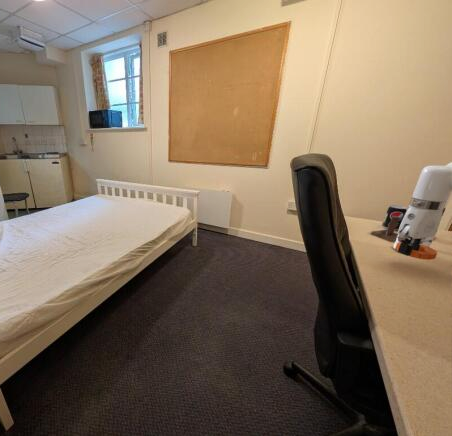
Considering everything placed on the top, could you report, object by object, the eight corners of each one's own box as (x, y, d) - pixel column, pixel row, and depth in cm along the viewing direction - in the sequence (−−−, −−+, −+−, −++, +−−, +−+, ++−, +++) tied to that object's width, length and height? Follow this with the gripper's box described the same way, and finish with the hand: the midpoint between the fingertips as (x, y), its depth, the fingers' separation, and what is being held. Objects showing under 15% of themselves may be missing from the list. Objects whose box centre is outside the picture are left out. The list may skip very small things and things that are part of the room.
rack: (406, 240, 103) (415, 219, 99) (391, 241, 101) (400, 220, 98) (384, 232, 111) (392, 213, 108) (370, 234, 110) (377, 214, 106)
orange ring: (442, 257, 76) (444, 252, 75) (421, 261, 74) (423, 256, 73) (408, 245, 84) (409, 240, 84) (388, 248, 83) (390, 243, 82)
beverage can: (379, 227, 117) (388, 206, 113) (382, 225, 121) (390, 204, 116) (397, 231, 112) (406, 209, 108) (399, 228, 116) (408, 207, 111)
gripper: (423, 209, 67) (402, 261, 74) (461, 205, 70) (437, 255, 76) (394, 203, 74) (377, 251, 80) (429, 199, 77) (410, 246, 83)
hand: (406, 253), depth 78 cm, fingers closed on orange ring, 2 cm apart
